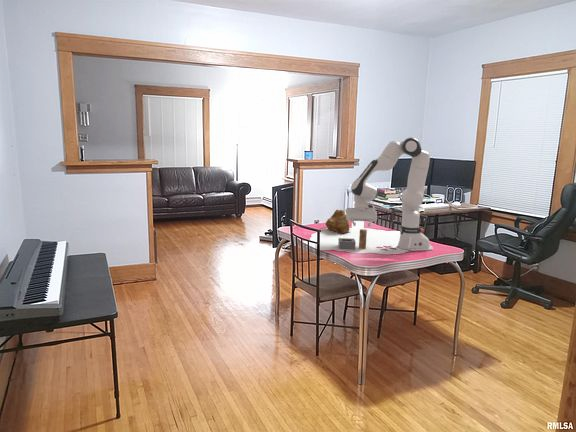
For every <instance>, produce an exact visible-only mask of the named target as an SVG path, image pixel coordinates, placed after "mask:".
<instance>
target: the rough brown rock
mask: <svg viewBox="0 0 576 432" xmlns="http://www.w3.org/2000/svg"><path fill="white" fill-rule="evenodd" d="M325 226H326V228H327V229H328V230H330V231H334V232H335V233H338V234H340V233H341V234H346V233H348V232H350V221H347V220H346V212H345V210H343V209H336V210H335V211H334V213H333V214H332V215H331V216H330V217H329V218H328V219H327V220H326V222H325Z"/></svg>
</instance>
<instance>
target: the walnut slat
mask: <svg viewBox="0 0 576 432" xmlns="http://www.w3.org/2000/svg"><path fill="white" fill-rule="evenodd" d="M367 234H368V230H367V229H365V228H363V229H359V238H358V239H359V241H358V246H359V249H366V246H367Z"/></svg>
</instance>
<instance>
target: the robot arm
mask: <svg viewBox="0 0 576 432" xmlns="http://www.w3.org/2000/svg"><path fill="white" fill-rule="evenodd" d="M402 155H407V156H410V157H411V163H410V168H409V172H408V176H407V184H406V189H404V190H403V191H402V195H401V196H402V197H401V209H402V210H401V211H402V212H401V213H402V215H401V225H400V228H399V235H400V236H399V240H398V244H397V247H398V248H399V249H403V250H407V251H411V252H412V251H413V252H415V251H417V252H418V251H419V252H422V251H433V250H434V247H433V245H431V243H430V239H429V238H428V237H427V236H426V235H425V234H424V233H423V232H424V228H422V227H420V215H421V214H420V206H421V205H423V202H424V195H425V189H426V188H425V186H426V179H427V176H428V173H429V172H428V171H429V167H430V160H431V156H430V153H429V152H428V151H426V150H424V149H423V150H422V147H421V144H420V141H419V140H418V139H417V138H415V137H407V138H405V139H404V140H403V141H401V142H398V141H395V140H392V141H389V143H388V144H387V145H386V147H385V148H384V149H383V151H382V152H381V154H380V155H379V156H378V158H376V159H373V160H371V162H369V164H368V165H367V167H366V168H364V170H363V171H362V172H361V174H360V175H359V176H358V177H357V178H356V180H354V181H353V183H352V184H351V193H352V194H353V201H354V204H353V207H347V208H346V209H345V210H344V212H345V215H346V220H347V221H349V222H350V221H351V223H352V225H353V227H356V225H357V224H356V223H357V222H367V227H368V228H369V227H371V224H372V222H374V223H375V222H377V220H378V214H377V211H376V209H375V206H374V205H373V204H368V203H370V202H372V201H374V200H376V198H378V188H377V187H376V186H373V185H372V184H369V183H367V180H368V179H369V178H370V177H371V176H372V174H374V173H375V172H376V171H378V172H379V171H381V172H382V171H383V172H384V171H385V172H388V171H390V170H392V169H393V168H394V167H395V165H397V164H396V163H397V162H398V160H399V158H400V157H401V156H402Z"/></svg>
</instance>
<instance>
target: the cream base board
mask: <svg viewBox="0 0 576 432" xmlns="http://www.w3.org/2000/svg"><path fill="white" fill-rule="evenodd" d="M338 250H339V251H346V250H345V249H339V248H338ZM354 251H361V252H362V251H364V252H371V251H372V249H371V247H370V246H369V245H366V249H359V245H355V250H354Z"/></svg>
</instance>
